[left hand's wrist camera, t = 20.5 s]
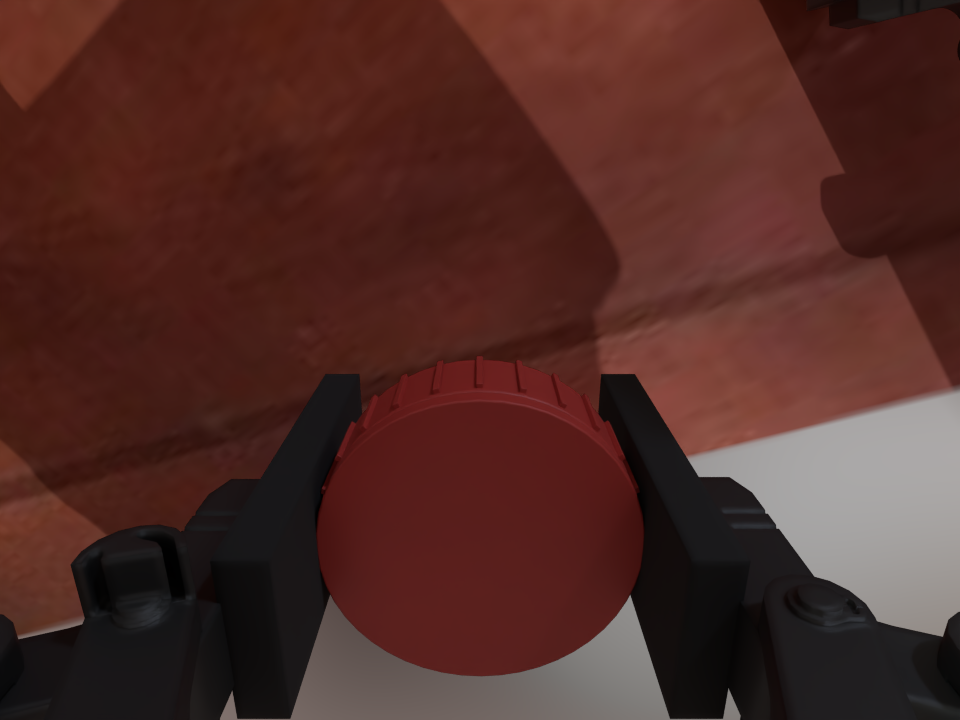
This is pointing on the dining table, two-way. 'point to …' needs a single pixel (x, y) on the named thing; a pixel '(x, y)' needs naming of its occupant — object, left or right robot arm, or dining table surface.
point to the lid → (480, 520)
